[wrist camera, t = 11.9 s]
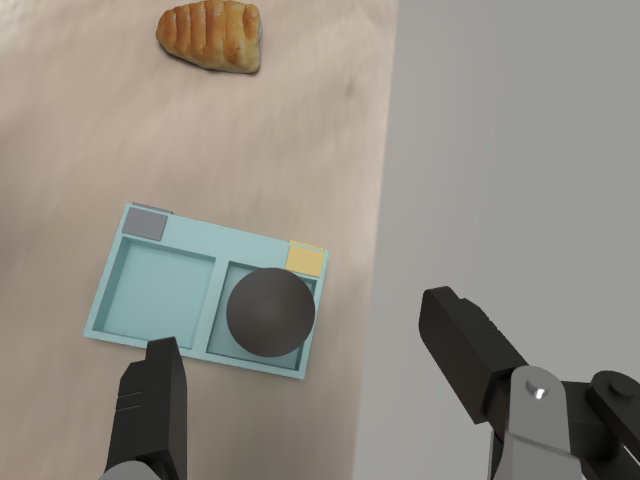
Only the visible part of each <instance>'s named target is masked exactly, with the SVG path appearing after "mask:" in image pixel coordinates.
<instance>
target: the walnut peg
mask: <svg viewBox="0 0 640 480" xmlns="http://www.w3.org/2000/svg"><path fill="white" fill-rule="evenodd" d="M226 319H227V324H228V328H229V330H230V333H231V335H232V336H233V338H234V339H235V341H236V342H237V343H238V344H239V345H240V346H241V347H242V348H243V349H245V350H246V351H248V352H250V353H251V354H254V355H257V356H261V357H268V358H271V357H280V356H283V355H286V354H288V353H291V352H292V351H294V350H296V349H297V348H298V347H299V346H301V345H302V344H303V342H304V341H305V340H306V339H307V337H308V336H309V334H310V332H311V330H312V328H313V325H314V321H315V303H314V299H313V296H312V294H311V291H310V290H309V288H308V286H307V285H306V284H305V282H304V281H303V280H302V279H301V278H299V277H298V276H297V275H295V274H294V273H292V272H290V271H287V270H285V269H281V268H262V269H258V270H255V271H253V272H251V273H249V274H248V275H246V276H245V277H243V278H242V279H241V280H240V281H239V282H238V283H237V284H236V286H235V287H234V288H233V290H232V292H231V294H230V296H229V299H228V302H227V308H226Z"/></svg>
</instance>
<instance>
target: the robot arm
mask: <svg viewBox="0 0 640 480" xmlns="http://www.w3.org/2000/svg"><path fill="white" fill-rule="evenodd" d="M419 332H420V336H421V338H422V340H423V342H424V344H425V345H426V347H427V349H428V350H429V352H430V353H431V355H432V357H433V358H434V360H435V361H436V363H437V365H438V366H439V368H440V369H441V371H442V373H443V374H444V376H445V377H446V379H447V380H448V382H449V384H450V385H451V387H452V388H453V390H454V392H455V393H456V394H457V396H458V398H459V400H460V401H461V403H462V404H463V406H464V408H465V409H466V411H467V412H468V414H469V416H470V417H471V419H472V420H473V422H474V424H475V425H476V424H479V423H483V422H487V421H488V422H489V423H490V425H491V426H492V428H493V429H492V432H491V441H490V453H489V465H488V477H487V480H582V474H583V475H584V476H585V478H586V479H587V480H640V466H639V465H638V463H637V462H636V461H635V460H634V459H633V458H632V457H631V455H630V454H629V453H628V452H627V450H626V449H625V448H624V446H626V447H627V449H628V450H629V451H630V452H631V453H632V455H633V456H634V457H635V458H636V459H637V460H638V462H640V384H639V383H638V382H637V381H635V380H634V379H632V378H630V377H629V376H626V375H624V374H622V373H619V372H615V371H600V372H598V373H596V374H595V375H594V377H593V379H592V381H591V382H590V383H582V382H568V381H559V380H558V378H556V377H555V376H554V375H553V374H551V373H550V372H548V371H547V370H544V369H542V368H539V367H535V366H530V365H529V364H528V363H527V362H526V361H525V360H524V359H523V357H522V356H521V355H520V354H519V353H518V352H517V350H516V349H515V348H514V347H513V346H512V345H511V344H510V342H509V341H508V340H507V339H506V338H505V336H504V335H503V334H502V333H501V332H500V331H499V330H497V327H496V326H495V325H494V324H493V322H492V321H490V320H489V318H488V317H487V316H486V314H485V313H484V312H483V311H482V310H481V308H480V307H478V306H477V305H475V304H473V303H472V302H470V301H469V300H467V299H466V298H464V299H459V298H458V296H457V295H456V294H455V293H454V292H453V290H452V289H451V288H450V287H448V286H444V287H438V288H433V289H428V290H425V292H424V293H423V299H422V305H421V312H420V318H419ZM99 480H187V382H186V375H185V370H184V366H183V363H182V359H181V355H180V352H179V348H178V345H177V341H176V338H175V336H173V337H167V338H162V339H157V340H151V341H148V343H147V349H146V358H145V360H143V361H138V362H133V363H130V365H129V366H128V368H127V370H126V371H125V373H124V374H123V376H122V378H121V380H120V386H119V392H118V399H117V404H116V413H115V416H114V422H113V429H112V435H111V441H110V447H109V453H108V459H107V465H106V468H105V471H104V474H103V475H102V476H101V477H100V478H99Z"/></svg>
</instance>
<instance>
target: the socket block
mask: <svg viewBox="0 0 640 480" xmlns="http://www.w3.org/2000/svg"><path fill="white" fill-rule="evenodd" d="M328 256H329V252H328V251H325V248H322V247H318V246H314V245H310V244H305V243H301V242H297V241H293V240H289V242H286V241H282V240H278V239H274V238H270V237H265V236H261V235H257V234H253V233H249V232H244V231H240V230H236V229H232V228H228V227H223V226H219V225H215V224H211V223H207V222H202V221H198V220H194V219H190V218H186V217H181V216H177V215H174V214H173V212H171V211H167V210H163V209H159V208H155V207H150V206H146V205H142V204H138V203H134V202H133V203H132V205H131V204H127V203H126V206H125V209H124V212H123V215H122V218H121V221H120V224H119V227H118V230H117V233H116V236H115V239H114V242H113V245H112V248H111V251H110V254H109V257H108V260H107V263H106V265H105V268H104V271H103V274H102V277H101V280H100V283H99V286H98V289H97V292H96V295H95V298H94V301H93V304H92V307H91V310H90V313H89V316H88V319H87V322H86V325H85V328H84V331H83V334H82V336H85V337H90V338H95V339H100V340H105V341H110V342H115V343H120V344H125V345H130V346H135V347H140V348H146V349H147V343H148V341H151V340H157V339H162V338H167V337H173V336H175V338H176V341H177V345H178V348H179V352H180V355H181V356H186V357H191V358H196V359H201V360H206V361H212V362H217V363H222V364H227V365H232V366H237V367H242V368H247V369H252V370H257V371H262V372H267V373H273V374H278V375H283V376H288V377H293V378H298V379H303V380H304V376H305V371H306V366H307V361H308V356H309V351H310V346H311V341H312V336H313V331H314V326H315V321H316V316H317V311H318V306H319V301H320V296H321V291H322V286H323V281H324V276H325V271H326V266H327V261H328ZM262 268H281V269H285V270H287V271H290V272H292V273H294V274H295V275H297V276H298V277H299V278H301V279H302V280H303V281H304V282H305V284H306V285H307V286H308V288H309V290H310V291H311V294H312V296H313V299H314V303H315V321H314V325H313V328H312V330H311V332H310V334H309V336H308V337H307V339H306V340H305V341H304V342H303V344H302V345H301V346H299V347H298V348H297V349H296V350H294V351H292V352H291V353H288V354H286V355H283V356H280V357H271V358H268V357H261V356H257V355H254V354H251V353H250V352H248V351H246V350H245V349H243V348H242V347H241V346H240V345H239V344H238V343H237V342H236V341H235V339H234V338H233V336H232V335H231V333H230V330H229V328H228V324H227V319H226V308H227V302H228V299H229V296H230V294H231V292H232V290H233V288H234V287H235V286H236V284H237V283H238V282H239V281H240V280H241V279H242V278H243V277H245V276H246V275H248V274H249V273H251V272H253V271H255V270H258V269H262Z"/></svg>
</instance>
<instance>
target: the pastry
mask: <svg viewBox="0 0 640 480" xmlns="http://www.w3.org/2000/svg"><path fill="white" fill-rule="evenodd" d="M261 35H262V24H261V19H260V15H259V10H258V9H257V7H256V6H254V5H253V4H249V5H246V4H243V3H240V2H235V1H230V0H229V1H222V0H207V1H200V2H198V3H192V4H188V5H183V6H179V7H175V8H174V9H172V10H167V11H166V12H165V13H164V14H163V15H162V16H161V18H160V20H159V23H158V27H157V30H156V38H157V40H158V41H159V42H160V43H161V45H162V46H163V47H164V48H165V50H166V51H167V52H168V53H170V54H172V55H175V56H178V57H180V58H183V59H185V60H187V61H189V62H192V63H195V64H197V65H198V66H200V67H201V68H203V69H215V70H221V71H227V72H234V73H252V72H256V71H257V70H258V69H259V67H260V56H261V53H260V48H259V40H260V38H261Z"/></svg>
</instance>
